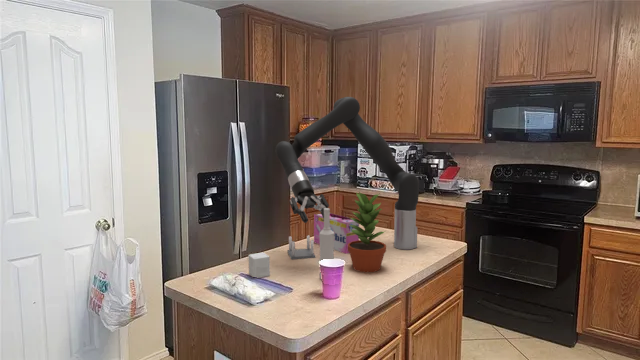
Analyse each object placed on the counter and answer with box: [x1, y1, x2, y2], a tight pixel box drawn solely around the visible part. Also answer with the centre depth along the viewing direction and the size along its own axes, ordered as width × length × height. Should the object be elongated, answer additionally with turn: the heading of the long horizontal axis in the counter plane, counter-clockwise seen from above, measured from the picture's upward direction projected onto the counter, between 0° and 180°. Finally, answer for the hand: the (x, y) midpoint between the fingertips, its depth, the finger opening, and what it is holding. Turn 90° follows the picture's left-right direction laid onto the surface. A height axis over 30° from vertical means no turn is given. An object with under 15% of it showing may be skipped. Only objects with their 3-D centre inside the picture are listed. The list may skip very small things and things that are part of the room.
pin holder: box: [286, 234, 316, 260], centre depth 174 cm, size 10×10×7 cm
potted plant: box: [348, 191, 387, 273], centre depth 157 cm, size 15×15×30 cm
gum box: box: [313, 212, 360, 254], centre depth 187 cm, size 24×8×14 cm, turn 39°
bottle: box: [319, 207, 335, 280], centre depth 146 cm, size 5×5×25 cm
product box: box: [247, 252, 271, 279], centre depth 151 cm, size 6×6×7 cm
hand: (316, 220), depth 151 cm, fingers open, 8 cm apart
